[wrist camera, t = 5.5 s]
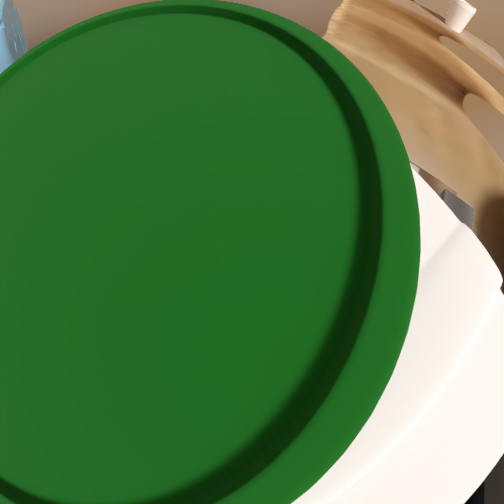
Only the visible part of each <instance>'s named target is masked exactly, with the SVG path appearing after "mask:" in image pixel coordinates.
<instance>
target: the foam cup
mask: <svg viewBox="0 0 504 504" xmlns="http://www.w3.org/2000/svg"><path fill="white" fill-rule="evenodd" d="M475 12H476V8H474V7H473V6H472V5H470V4H469V3H467V2H465V1H464V0H450V2H449V6H448V11H447V15H446V19H445V24H446V25H447V26H449V27H450V28H451V29H453V30H455V31H457V32H459V33H461V31H462V30H463V29H464V27H465V26H466V24H467V23H468V22H469V20H470V19H471V17H472V16H473V15H474V14H475Z"/></svg>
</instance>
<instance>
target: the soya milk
mask: <svg viewBox="0 0 504 504" xmlns="http://www.w3.org/2000/svg"><path fill="white" fill-rule="evenodd" d="M502 282H503V279H502V276H501V274H500V271H499V269H498V268H497V266H496V264H495V263H494V261H493V260H492V258H491V256H490V255H489V253H488V252H487V250H486V249H485V247H484V246H483V245H482V243H481V242H480V241H479V239H478V238H477V237H476V235H475V234H474V233H473V232H472V230H471V229H470V228H469V227H467V226H466V225H465V224H464V223H461V221H460V220H459V219H458V218H457V217H456V216H455V215H454V213H453V212H452V211H451V210H450V209H449V207H448V206H447V205H446V204H445V203H444V201H443V200H442V199H441V198H440V197H439V196H438V195H437V194H436V192H435V191H434V190H433V189H432V188H431V187H430V186H429V185H428V184H427V183H426V182H425V181H424V180H423V178H422V177H421V176H420V175H419V174H418V173H417V172H416V171H415V170H414V169H413V168H412V167H411V165H410V162H409V158H408V155H407V152H406V149H405V146H404V144H403V141H402V139H401V136H400V134H399V131H398V129H397V127H396V125H395V123H394V121H393V119H392V117H391V115H390V113H389V111H388V110H387V108H386V106H385V104H384V103H383V101H382V100H381V98H380V97H379V95H378V94H377V92H376V91H375V89H374V88H373V86H372V85H371V84H370V83H369V81H368V80H367V79H366V78H365V77H364V75H363V74H362V73H361V72H360V71H359V70H358V69H357V68H356V67H355V66H354V64H353V63H352V62H351V61H350V60H348V59H347V58H346V57H345V56H344V55H343V54H342V53H341V52H340V51H338V50H337V49H336V48H335V47H334V46H332V45H331V44H330V43H328V42H327V41H325V40H324V39H323V38H321V37H320V36H318V35H317V34H315V33H313V32H312V31H310V30H308V29H306V28H305V27H303V26H301V25H299V24H297V23H295V22H293V21H291V20H289V19H287V18H284V17H282V16H279V15H277V14H274V13H271V12H268V11H265V10H262V9H259V8H255V7H251V6H247V5H242V4H238V3H232V2H226V1H217V0H163V1H156V2H148V3H143V4H137V5H133V6H128V7H125V8H121V9H117V10H114V11H110V12H107V13H104V14H101V15H98V16H95V17H93V18H90V19H88V20H85V21H83V22H80V23H78V24H76V25H74V26H72V27H70V28H68V29H66V30H64V31H62V32H60V33H58V34H56V35H54V36H52V37H51V38H49V39H47V40H46V41H44V42H42V43H41V44H39V45H38V46H36V47H35V48H33V49H32V50H30V51H29V52H27V53H26V54H24V55H23V56H22V57H20V58H19V59H18V60H16V61H15V62H14V63H13V64H11V65H10V66H9V67H8V68H7V69H5V70H4V71H3V72H2V73H1V74H0V504H464V503H465V502H466V501H467V500H468V499H469V498H470V496H471V495H472V494H473V493H474V492H475V491H476V489H477V488H478V487H479V486H480V485H481V483H482V482H483V481H484V480H485V478H486V477H487V476H488V474H489V473H490V472H491V470H492V469H493V468H494V466H495V465H496V464H497V462H498V461H499V459H500V458H501V456H502V455H503V453H504V295H503V293H502V291H501V290H500V287H501V285H502Z"/></svg>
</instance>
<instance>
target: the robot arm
mask: <svg viewBox="0 0 504 504" xmlns="http://www.w3.org/2000/svg"><path fill="white" fill-rule="evenodd" d="M27 52H28V48H27V43H26V38H25V34H24V30H23V26H22V23H21V20H20V16H19V14H18V11H17V9H16V7H14V4H13V1H12V0H0V74H1V73H2V72H3V71H4V70H5V69H7V68H8V67H9V66H10V65H11V64H13V63H14V62H15V61H16V60H18V59H19V58H20V57H22V56H23V55H24V54H26V53H27ZM464 504H504V453H503V455H502V456H501V458H500V459H499V461H498V462H497V464H496V465H495V466H494V468H493V469H492V470H491V472H490V473H489V474H488V476H487V477H486V478H485V480H484V481H483V482H482V483H481V485H480V486H479V487H478V488H477V489H476V491H475V492H474V493H473V494H472V495H471V496H470V498H469V499H468V500H467V501H466V502H465V503H464Z"/></svg>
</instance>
